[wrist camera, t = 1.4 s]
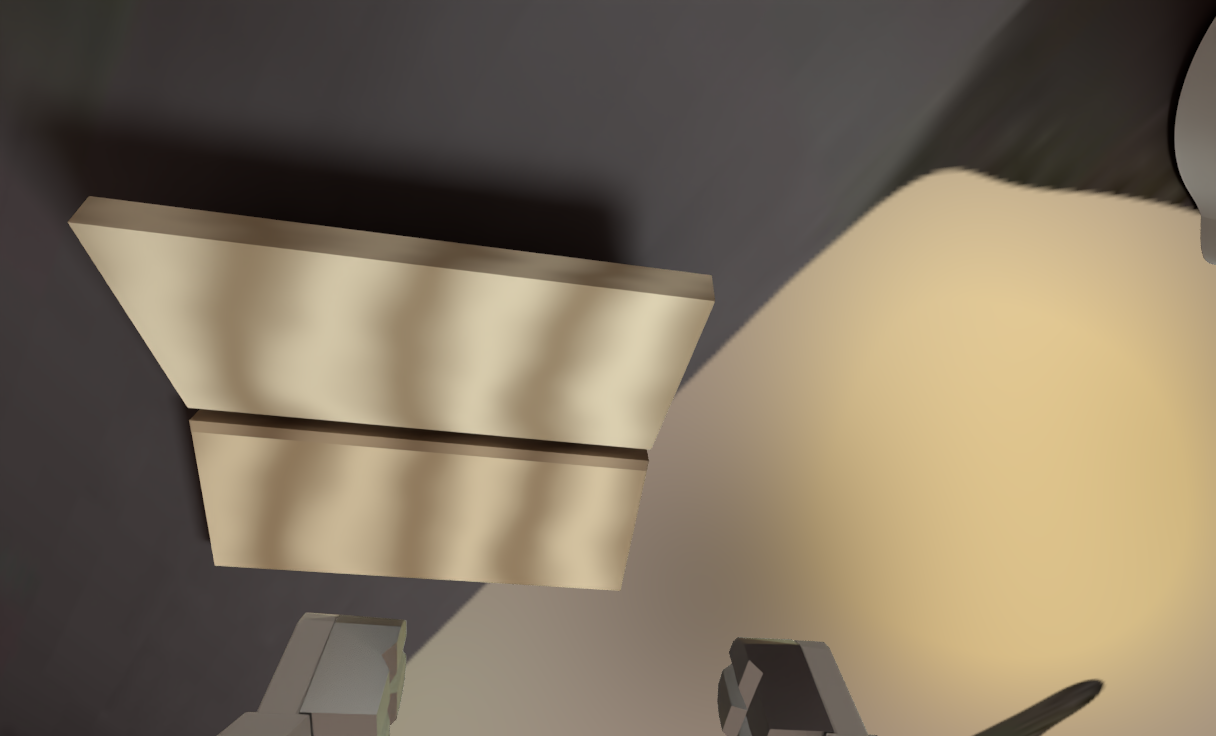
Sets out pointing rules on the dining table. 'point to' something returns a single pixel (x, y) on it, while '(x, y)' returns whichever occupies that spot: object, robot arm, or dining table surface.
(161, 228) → the loose plank
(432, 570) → the plank
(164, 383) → the dining table surface
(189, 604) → the dining table surface
